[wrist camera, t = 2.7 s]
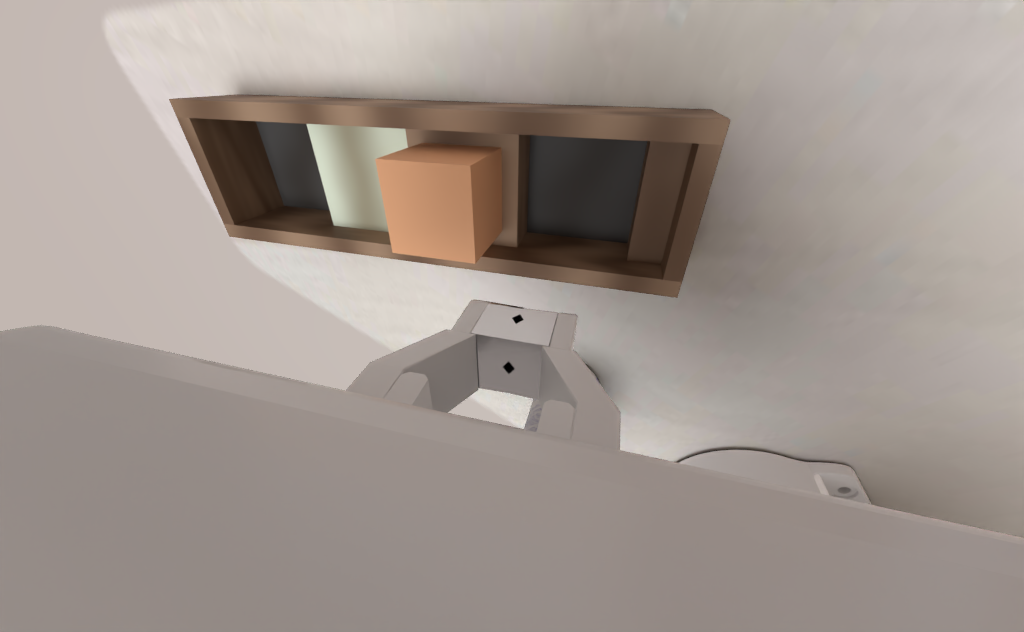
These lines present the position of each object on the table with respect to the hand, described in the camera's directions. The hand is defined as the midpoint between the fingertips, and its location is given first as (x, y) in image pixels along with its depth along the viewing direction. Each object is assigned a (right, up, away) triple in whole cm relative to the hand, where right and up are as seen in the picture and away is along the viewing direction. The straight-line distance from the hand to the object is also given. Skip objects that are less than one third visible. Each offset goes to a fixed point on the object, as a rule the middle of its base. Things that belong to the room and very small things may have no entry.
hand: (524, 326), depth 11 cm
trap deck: (-5, +10, +15) cm, 19 cm away
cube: (-3, +8, +13) cm, 15 cm away
